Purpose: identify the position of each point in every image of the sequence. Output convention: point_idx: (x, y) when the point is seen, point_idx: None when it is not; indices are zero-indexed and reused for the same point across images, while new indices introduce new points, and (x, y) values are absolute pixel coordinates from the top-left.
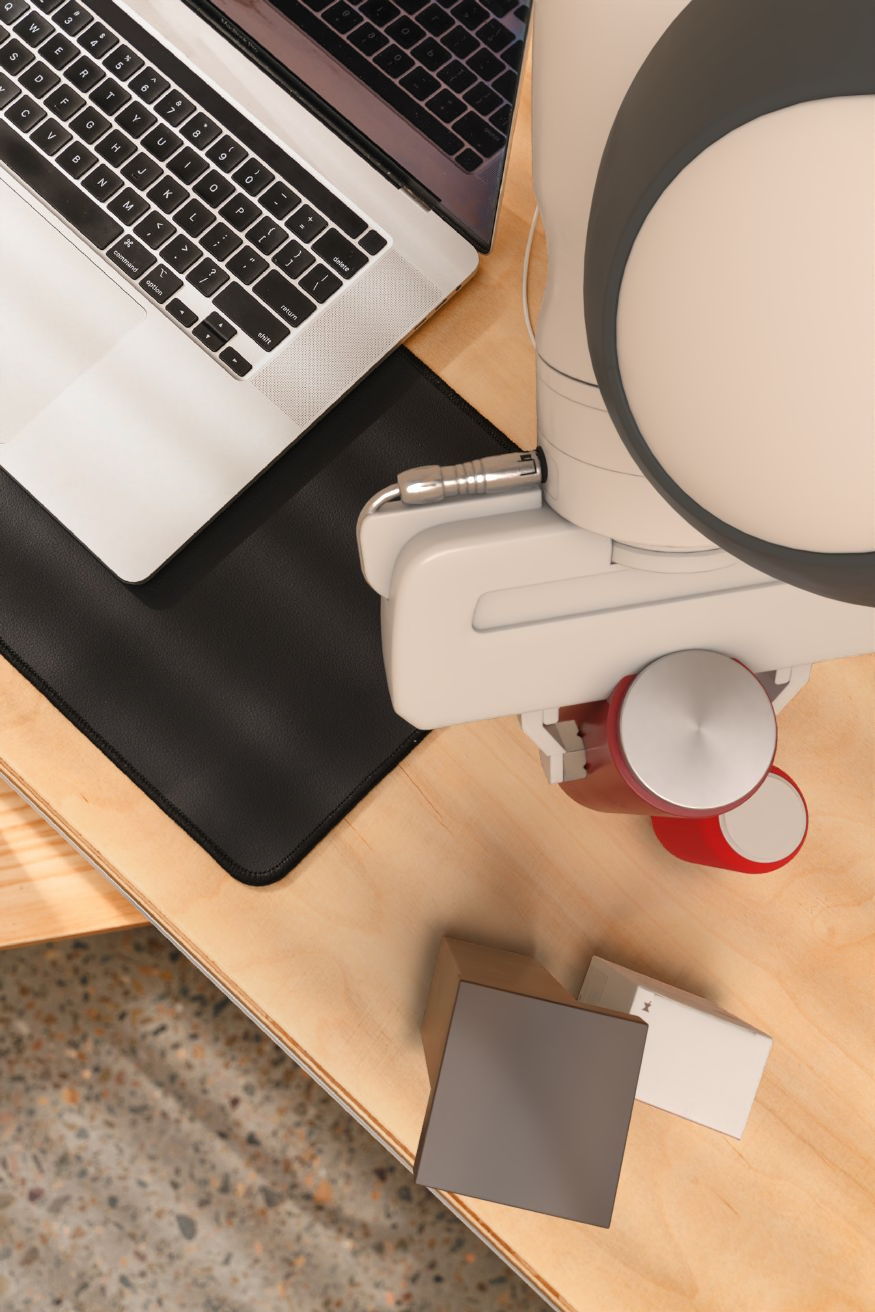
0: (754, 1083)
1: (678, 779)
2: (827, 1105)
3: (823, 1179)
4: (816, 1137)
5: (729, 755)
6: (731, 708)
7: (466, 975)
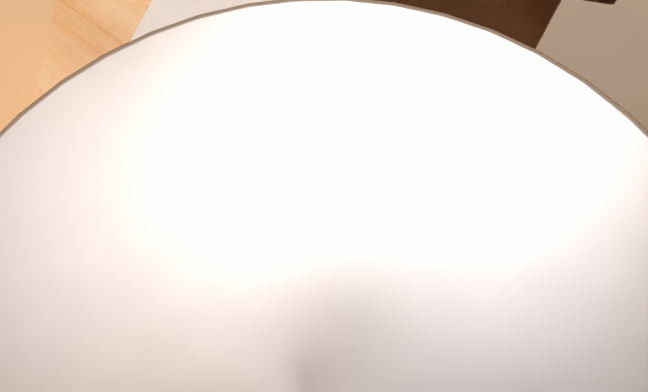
0: (148, 15)
1: (422, 122)
2: (78, 59)
3: (93, 3)
4: (93, 34)
5: (143, 247)
6: None
7: (599, 1)
